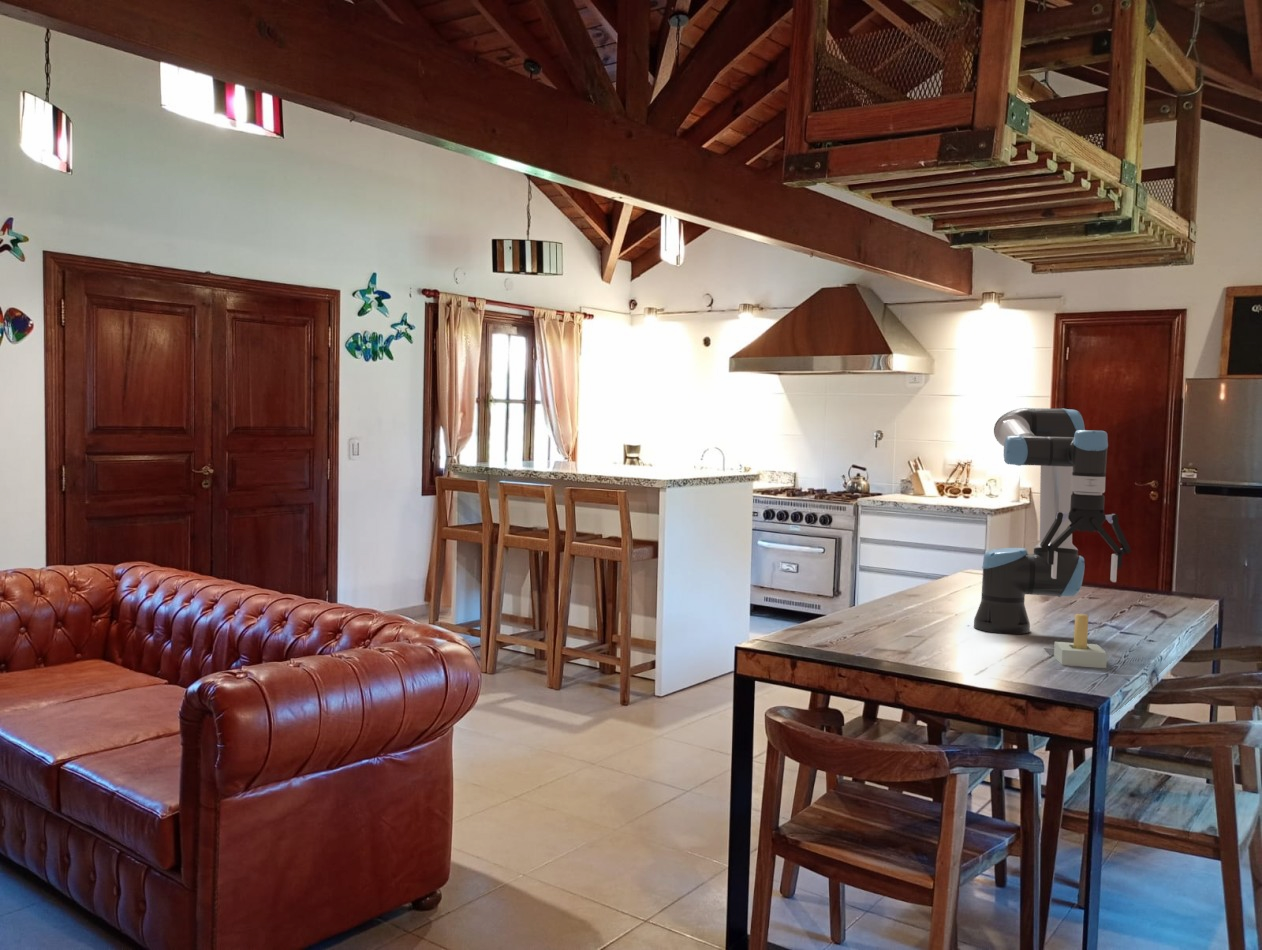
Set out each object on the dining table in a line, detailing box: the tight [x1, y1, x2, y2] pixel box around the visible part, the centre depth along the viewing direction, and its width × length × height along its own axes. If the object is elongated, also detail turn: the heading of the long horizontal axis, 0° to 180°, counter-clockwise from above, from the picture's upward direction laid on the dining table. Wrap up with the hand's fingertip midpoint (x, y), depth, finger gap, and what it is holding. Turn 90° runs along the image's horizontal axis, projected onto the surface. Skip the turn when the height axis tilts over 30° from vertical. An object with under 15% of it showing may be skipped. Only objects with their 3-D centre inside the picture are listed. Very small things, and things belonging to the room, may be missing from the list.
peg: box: [1073, 613, 1089, 649], centre depth 247 cm, size 3×3×12 cm
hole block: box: [1053, 641, 1108, 669], centre depth 248 cm, size 10×10×4 cm
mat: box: [1043, 647, 1054, 656], centre depth 257 cm, size 12×8×1 cm, turn 77°
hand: (1083, 579), depth 247 cm, fingers open, 13 cm apart
